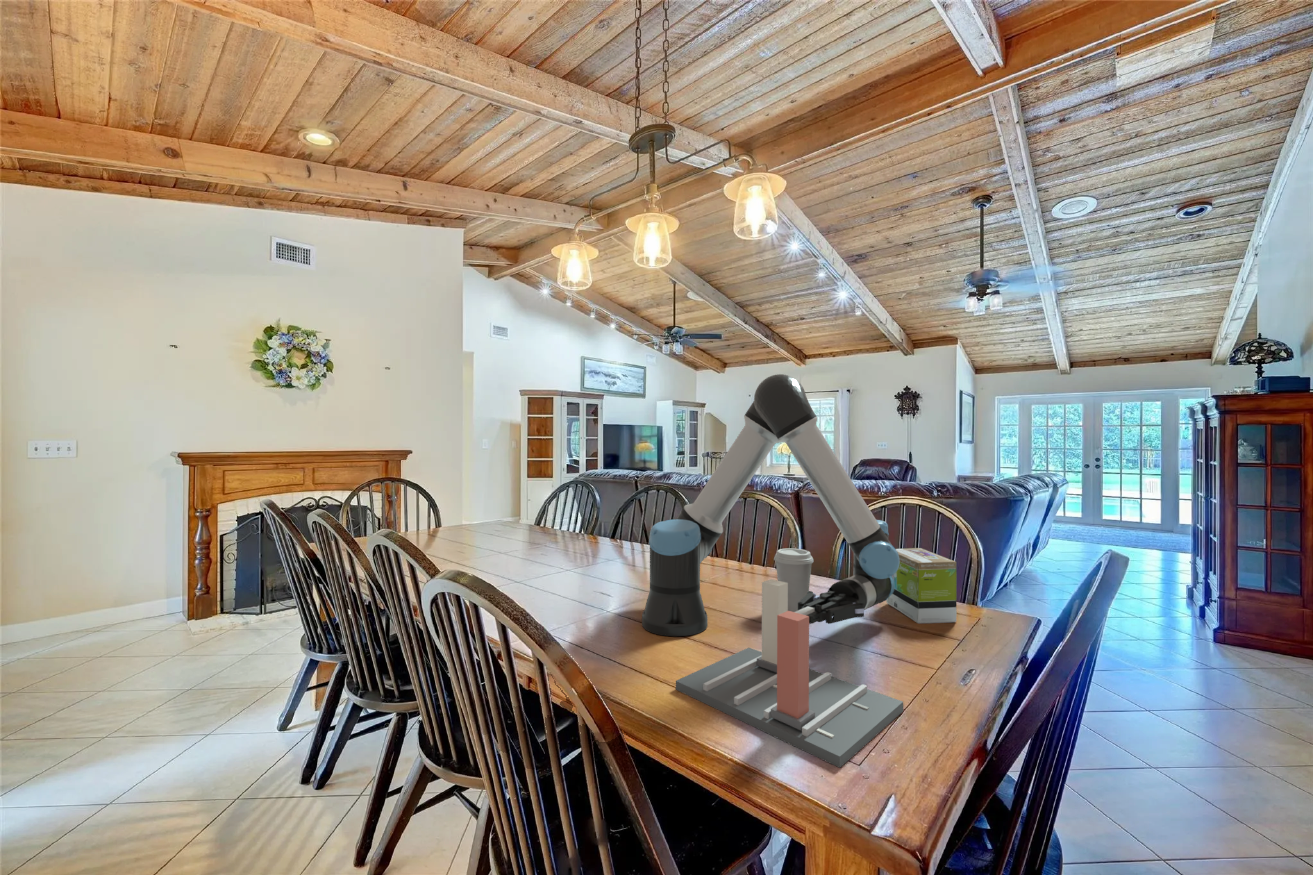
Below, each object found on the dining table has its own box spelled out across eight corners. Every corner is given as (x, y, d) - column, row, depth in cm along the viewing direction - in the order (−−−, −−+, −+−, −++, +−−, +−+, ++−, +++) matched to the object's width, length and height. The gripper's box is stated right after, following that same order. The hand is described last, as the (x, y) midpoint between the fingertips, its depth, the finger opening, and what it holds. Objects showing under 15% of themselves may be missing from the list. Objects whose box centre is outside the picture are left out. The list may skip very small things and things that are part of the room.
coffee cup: (815, 619, 127) (815, 556, 127) (774, 616, 129) (774, 554, 129) (811, 607, 136) (811, 548, 136) (773, 604, 138) (773, 546, 138)
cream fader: (756, 665, 97) (756, 581, 97) (769, 658, 100) (769, 577, 100) (780, 674, 93) (780, 587, 93) (792, 667, 96) (792, 583, 96)
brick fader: (770, 716, 79) (771, 614, 79) (785, 707, 82) (785, 608, 82) (800, 730, 75) (801, 623, 75) (815, 719, 78) (815, 616, 78)
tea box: (884, 604, 139) (884, 547, 139) (921, 603, 140) (921, 547, 140) (917, 624, 124) (917, 561, 124) (958, 623, 125) (958, 560, 125)
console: (675, 689, 92) (675, 674, 92) (748, 654, 106) (748, 642, 106) (839, 767, 70) (839, 748, 70) (903, 710, 85) (903, 695, 85)
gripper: (880, 620, 113) (825, 651, 96) (823, 606, 122) (764, 632, 105) (880, 585, 113) (825, 610, 96) (823, 573, 122) (764, 594, 105)
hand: (793, 621), depth 101 cm, fingers closed
